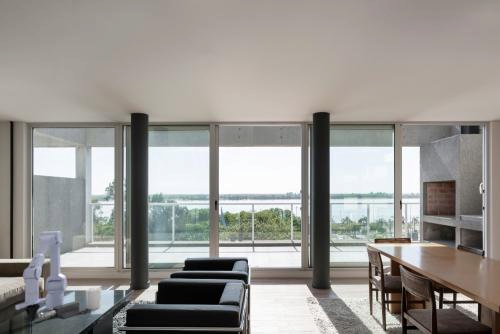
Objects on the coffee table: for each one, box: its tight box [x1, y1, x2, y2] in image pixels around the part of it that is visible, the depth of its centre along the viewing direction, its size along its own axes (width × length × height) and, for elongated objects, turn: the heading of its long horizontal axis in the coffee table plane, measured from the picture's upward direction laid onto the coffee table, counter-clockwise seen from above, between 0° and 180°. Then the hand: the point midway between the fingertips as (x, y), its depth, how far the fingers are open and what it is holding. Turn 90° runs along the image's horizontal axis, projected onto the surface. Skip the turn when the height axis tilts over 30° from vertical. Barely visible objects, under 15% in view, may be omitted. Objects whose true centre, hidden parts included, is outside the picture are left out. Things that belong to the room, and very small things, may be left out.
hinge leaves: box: [48, 301, 87, 319], centre depth 198 cm, size 12×16×4 cm
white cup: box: [85, 287, 102, 310], centre depth 207 cm, size 8×8×10 cm
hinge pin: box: [37, 310, 57, 321], centre depth 192 cm, size 14×4×4 cm, turn 150°
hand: (31, 320), depth 182 cm, fingers closed
